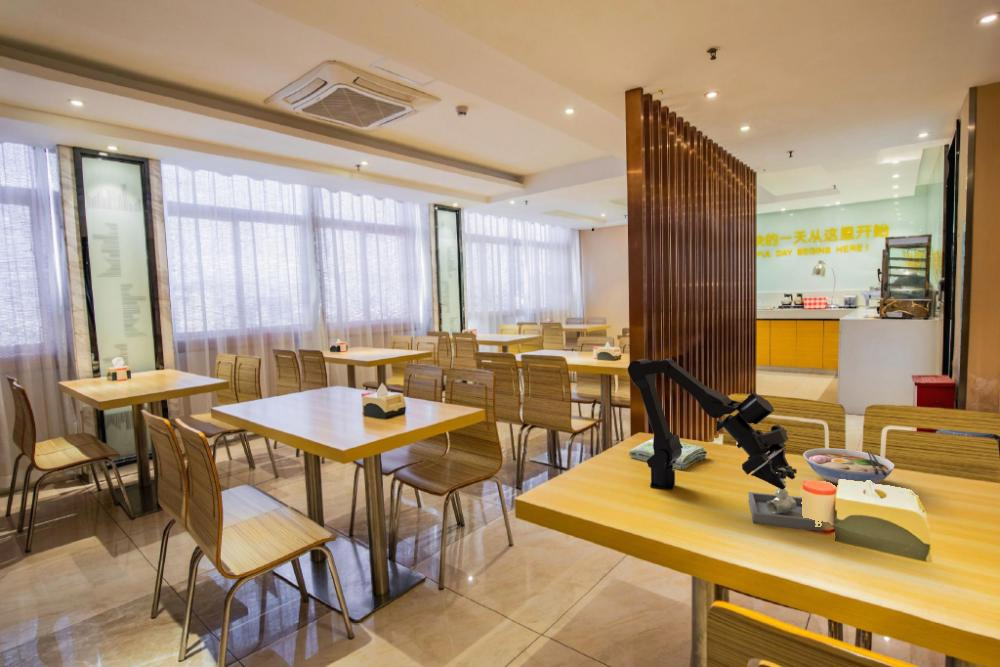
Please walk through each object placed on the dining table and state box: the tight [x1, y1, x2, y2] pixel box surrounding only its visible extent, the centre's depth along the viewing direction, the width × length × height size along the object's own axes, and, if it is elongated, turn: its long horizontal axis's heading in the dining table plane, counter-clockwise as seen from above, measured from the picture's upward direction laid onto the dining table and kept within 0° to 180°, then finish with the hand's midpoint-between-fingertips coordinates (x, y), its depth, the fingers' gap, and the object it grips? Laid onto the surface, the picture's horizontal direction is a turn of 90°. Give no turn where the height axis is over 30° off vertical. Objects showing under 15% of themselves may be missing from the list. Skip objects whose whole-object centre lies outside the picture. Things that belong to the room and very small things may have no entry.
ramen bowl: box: [802, 447, 896, 485], centre depth 153 cm, size 25×23×8 cm
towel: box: [628, 437, 708, 470], centre depth 182 cm, size 18×21×5 cm
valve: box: [767, 464, 798, 514], centre depth 132 cm, size 7×7×12 cm
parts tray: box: [747, 491, 824, 532], centre depth 133 cm, size 15×15×2 cm
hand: (789, 483), depth 131 cm, fingers open, 9 cm apart
